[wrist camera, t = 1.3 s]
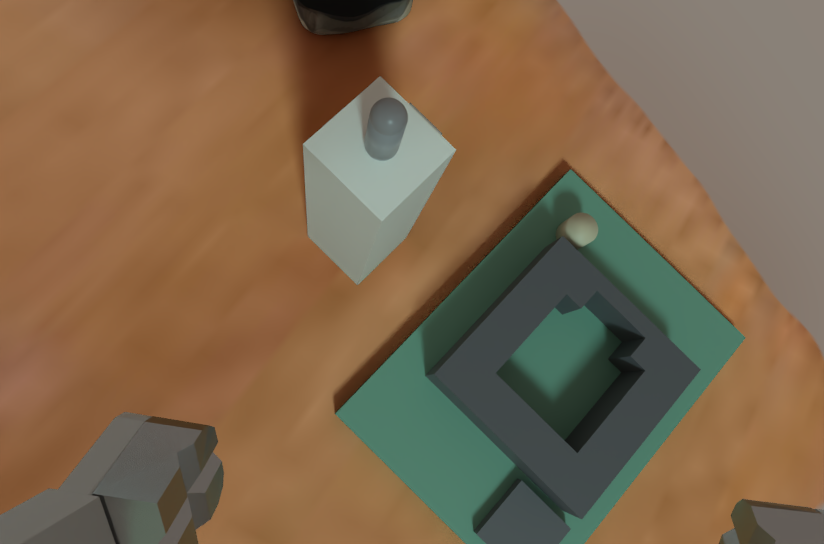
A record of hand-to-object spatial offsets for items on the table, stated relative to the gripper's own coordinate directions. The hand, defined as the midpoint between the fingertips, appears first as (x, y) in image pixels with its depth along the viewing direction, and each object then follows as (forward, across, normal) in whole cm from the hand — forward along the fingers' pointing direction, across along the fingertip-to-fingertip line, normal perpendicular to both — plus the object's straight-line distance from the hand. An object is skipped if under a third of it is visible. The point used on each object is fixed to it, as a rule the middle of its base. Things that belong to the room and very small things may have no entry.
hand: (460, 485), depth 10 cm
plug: (+28, +8, +11) cm, 31 cm away
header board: (+25, -4, +18) cm, 31 cm away
